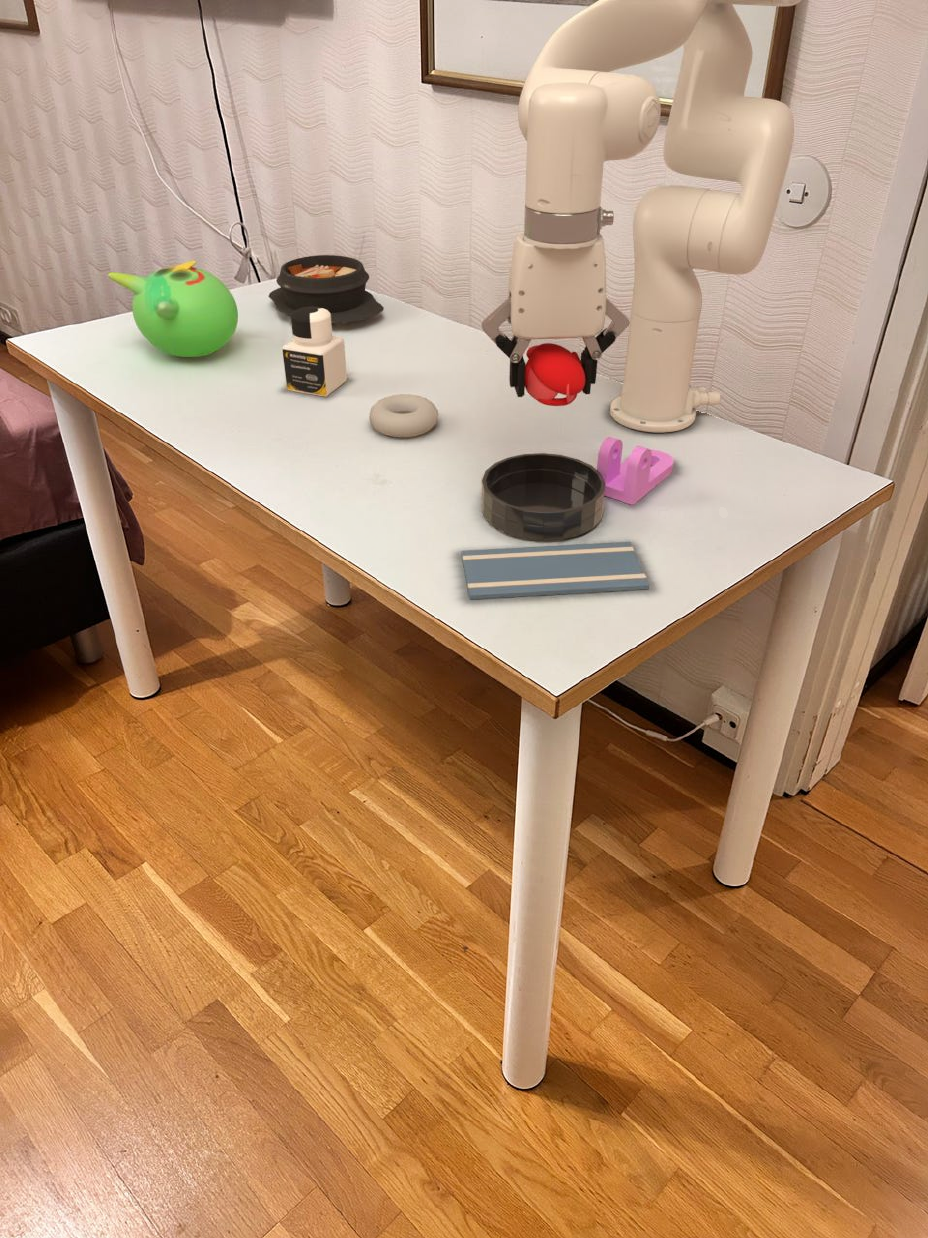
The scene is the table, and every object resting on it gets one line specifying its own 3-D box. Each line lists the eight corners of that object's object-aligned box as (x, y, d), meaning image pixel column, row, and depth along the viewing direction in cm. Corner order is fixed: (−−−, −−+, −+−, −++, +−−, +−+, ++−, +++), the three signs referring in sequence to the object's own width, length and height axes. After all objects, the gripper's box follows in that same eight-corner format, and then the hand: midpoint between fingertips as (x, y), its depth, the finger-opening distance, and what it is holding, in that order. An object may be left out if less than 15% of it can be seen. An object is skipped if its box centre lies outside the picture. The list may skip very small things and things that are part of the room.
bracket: (632, 505, 118) (638, 455, 114) (594, 491, 121) (599, 443, 117) (679, 466, 127) (686, 418, 123) (642, 454, 129) (648, 407, 125)
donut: (362, 439, 134) (430, 444, 132) (359, 416, 132) (429, 421, 130) (380, 409, 141) (445, 414, 140) (379, 388, 139) (444, 392, 138)
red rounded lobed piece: (597, 399, 105) (601, 348, 102) (563, 416, 102) (567, 364, 98) (542, 380, 110) (545, 329, 106) (508, 395, 106) (510, 344, 103)
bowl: (588, 479, 124) (591, 450, 121) (614, 539, 112) (617, 509, 109) (475, 484, 123) (476, 455, 120) (489, 546, 111) (490, 515, 108)
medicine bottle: (286, 390, 147) (277, 314, 140) (309, 374, 152) (301, 300, 145) (326, 397, 145) (319, 321, 137) (348, 380, 150) (342, 305, 143)
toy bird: (262, 352, 160) (250, 263, 151) (179, 381, 150) (161, 288, 141) (199, 327, 169) (184, 243, 160) (116, 353, 159) (96, 265, 150)
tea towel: (629, 545, 111) (629, 540, 110) (648, 589, 104) (649, 584, 103) (461, 554, 109) (461, 549, 109) (469, 599, 102) (469, 594, 102)
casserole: (246, 307, 178) (240, 262, 173) (324, 285, 188) (320, 242, 183) (327, 341, 163) (323, 293, 158) (407, 316, 174) (405, 269, 169)
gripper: (636, 212, 98) (620, 374, 109) (472, 216, 97) (471, 380, 108) (655, 232, 92) (635, 401, 103) (479, 237, 91) (478, 408, 102)
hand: (551, 389), depth 105 cm, fingers closed on red rounded lobed piece, 6 cm apart
